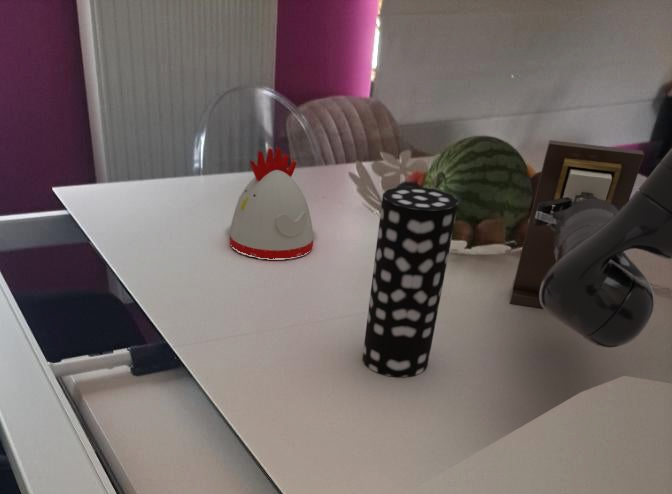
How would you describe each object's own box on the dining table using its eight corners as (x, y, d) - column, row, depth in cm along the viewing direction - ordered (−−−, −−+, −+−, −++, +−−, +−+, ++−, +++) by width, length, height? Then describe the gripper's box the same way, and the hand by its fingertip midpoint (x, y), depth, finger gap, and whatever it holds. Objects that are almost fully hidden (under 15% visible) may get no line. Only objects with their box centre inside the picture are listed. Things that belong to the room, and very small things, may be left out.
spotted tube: (348, 357, 94) (367, 194, 81) (392, 339, 99) (416, 182, 86) (397, 384, 90) (424, 215, 77) (440, 364, 94) (473, 201, 81)
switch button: (557, 215, 102) (570, 168, 98) (596, 220, 101) (611, 173, 97) (557, 220, 100) (570, 173, 96) (597, 225, 99) (612, 178, 95)
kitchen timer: (215, 238, 125) (213, 141, 115) (283, 226, 131) (287, 133, 121) (258, 266, 116) (260, 164, 107) (328, 252, 122) (337, 154, 113)
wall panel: (511, 288, 114) (549, 136, 101) (591, 300, 112) (641, 147, 98) (509, 303, 110) (549, 146, 96) (593, 316, 108) (645, 158, 94)
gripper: (662, 217, 81) (647, 176, 94) (539, 201, 83) (540, 163, 96) (638, 283, 86) (627, 236, 99) (522, 267, 88) (526, 222, 101)
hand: (584, 200), depth 97 cm, fingers closed
